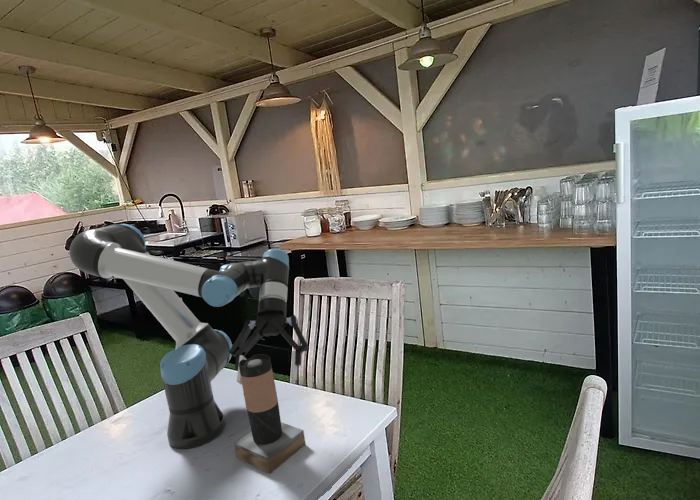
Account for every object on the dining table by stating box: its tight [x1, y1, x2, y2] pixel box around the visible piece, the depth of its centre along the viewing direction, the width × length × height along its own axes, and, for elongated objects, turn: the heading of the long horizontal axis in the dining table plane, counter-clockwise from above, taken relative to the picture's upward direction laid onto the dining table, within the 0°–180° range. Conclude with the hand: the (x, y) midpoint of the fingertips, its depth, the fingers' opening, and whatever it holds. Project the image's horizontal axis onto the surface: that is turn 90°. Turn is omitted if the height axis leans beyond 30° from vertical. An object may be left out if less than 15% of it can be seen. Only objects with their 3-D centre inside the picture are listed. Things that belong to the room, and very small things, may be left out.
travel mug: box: [239, 353, 282, 445], centre depth 108 cm, size 8×8×20 cm
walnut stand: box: [233, 421, 306, 474], centre depth 110 cm, size 12×12×4 cm
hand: (266, 380), depth 109 cm, fingers open, 13 cm apart
